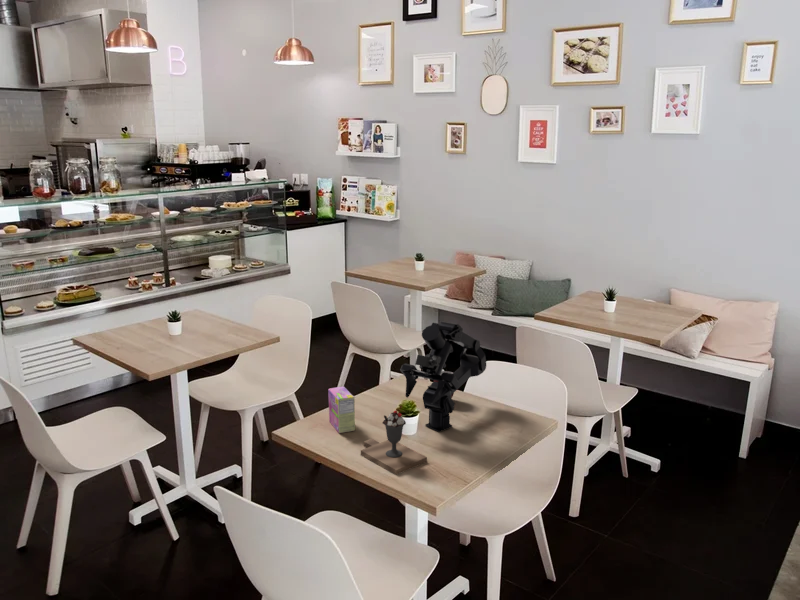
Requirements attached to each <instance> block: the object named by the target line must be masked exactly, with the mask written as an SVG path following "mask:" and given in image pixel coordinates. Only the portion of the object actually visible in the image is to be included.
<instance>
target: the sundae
mask: <svg viewBox="0 0 800 600" xmlns="http://www.w3.org/2000/svg"><path fill="white" fill-rule="evenodd" d="M402 408H403V406H402V405H399V407H398V409H397V410H394V411H393V412H390V413H389V415H388V416H387V415H383V418H384V419H383V421H382V424H383V425H384V427H385V430H386V433H385V434H386V439H387V440H389V442H391V443H392V450H389V451H387V452H386V455H387V456H388V457H392V458H397V457H400V456H401V455H402V452H401V451H399V450H397V449H396V443H400V441H401V440H402V435H403V429H404V427H405V425H407V422H406V420H405V419H404V418H403V416H402V415H403V414H402V413H401V409H402Z"/></svg>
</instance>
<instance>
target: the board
mask: <svg viewBox="0 0 800 600" xmlns="http://www.w3.org/2000/svg"><path fill="white" fill-rule="evenodd" d="M363 447H364V448H363V449H360V456H362V457H363V456H364V458H365V457H366V458H365V459H367V460H369V461H371V462H372V463H375V464H376V465H378V466H380V467H381V468H383V469H385V470H387V471H389V472H390V473H391V474H394V475H396V476H398V475H400V474H402V473H404V472H406V471H408V470H411V469H413V468H416V467H418V466H421V465H423V464H426V463H427V462H428V457H427V456H426V455H424V454H422V453H420V452H418V451H415V450H414V449H412V448H410V447H408V446H406V445H404V444H402V443H400V442H398V443H396V449H397V450H399V451H401V452H402V455H401V456H400V457H397V458H392V457H388V456H387V455H386V452H387V451H389V450H392V443H391V442H389V440H388V439H387V440H384V441H380V442H379V441H378V440H375V439H374V438H369V439H367V440H364V441H363Z"/></svg>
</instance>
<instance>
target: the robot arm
mask: <svg viewBox="0 0 800 600" xmlns="http://www.w3.org/2000/svg"><path fill="white" fill-rule="evenodd" d="M421 337H422V339H423V340H424V342H425V344H426V345H427V347H428V348H429V349H431V350H430V352H429V353H426V354H425V355H421V354H416V360H415V363H414V364H415V365H413V364H410V363H406V362H405V363H403V364H402V365H401V367H400V369H399V371H400V372H401V373H402V374H403V376H404V377H405V379H406V380H405V398H407V399H408V398H409V397H410V395H411V393H412V392H413V390H414V388H415V387H416V384H417V383H418V381H417V379H418V378H423V379H427V380H432V381H433V382H432V383H431V384H430V385H427V388H426V389H425V390H424V392H423V395H422V400H423V401H422V402H423V407H424V409H427V410H428V423H425V425H424V426H425V427H426V428H429V429H431V430H434V432H438V433H441V432H442V431H446V430H448V429H450V428H453V425H452V424H451V423H450V421H451V415H450V414H452V413H453V412H454V409H455V404H456V403H455V401H453V399H451V395H452V394H453V393H454V394H455V393H456V392H457V391H458V390H459V388H461V387H462V385H464V384H465V382H467V381H468V380H469V379H470V378H473V377H478V376H480V375H481V374H483V373H484V372H485V371H486V369H487V358H486V353H485V351H484V350H483V349H482V347H481V343H480V340H478V339H477V338H475V337H473V336H471V335H469V334H468V333H466V332H464V328H463V327H462V326H461V325H460V324H459V323H454V322H448V321H440V323H438V322H432V323H431V325H428V326H426V327H425V328H424V329H423V330H422V332H421ZM450 341H451V342H453V343H455V344H457V345H460V346H461V347H462V351H461V352H460V354H459V359H460V361H459V362H460V366H459V367H458V368H457V369H456V370H454V371H453V374H450V373H446V372H444V373H442V375H440V374H441V371H443V369H446V367H447V364H446V362H447V360H448V357H449V355H450V353H453V352H454V348H453V343H450ZM467 350H471V351H474V354H475V355H472V354H467ZM416 366H419V369H418V368H417V367H416ZM434 380H436V381H438V382H434ZM454 394H453V395H454Z"/></svg>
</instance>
